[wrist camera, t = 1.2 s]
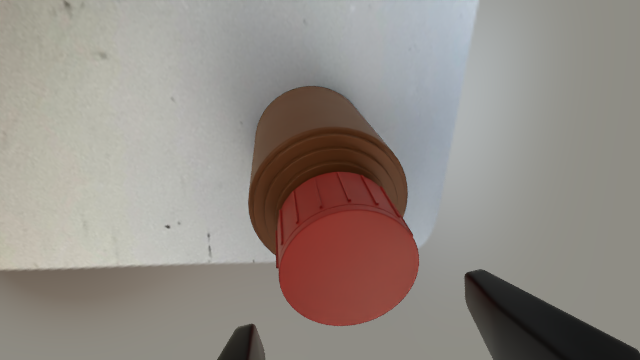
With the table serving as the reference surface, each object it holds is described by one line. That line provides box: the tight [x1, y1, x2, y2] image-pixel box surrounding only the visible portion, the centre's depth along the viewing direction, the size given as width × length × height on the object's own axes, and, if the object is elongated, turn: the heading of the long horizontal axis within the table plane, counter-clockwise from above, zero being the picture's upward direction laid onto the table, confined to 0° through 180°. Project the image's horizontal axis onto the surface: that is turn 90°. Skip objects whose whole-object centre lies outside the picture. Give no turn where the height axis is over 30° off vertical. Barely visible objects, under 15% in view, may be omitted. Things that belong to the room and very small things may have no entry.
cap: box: [275, 172, 419, 326], centre depth 12 cm, size 4×4×3 cm
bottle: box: [248, 86, 408, 255], centre depth 16 cm, size 6×6×11 cm
